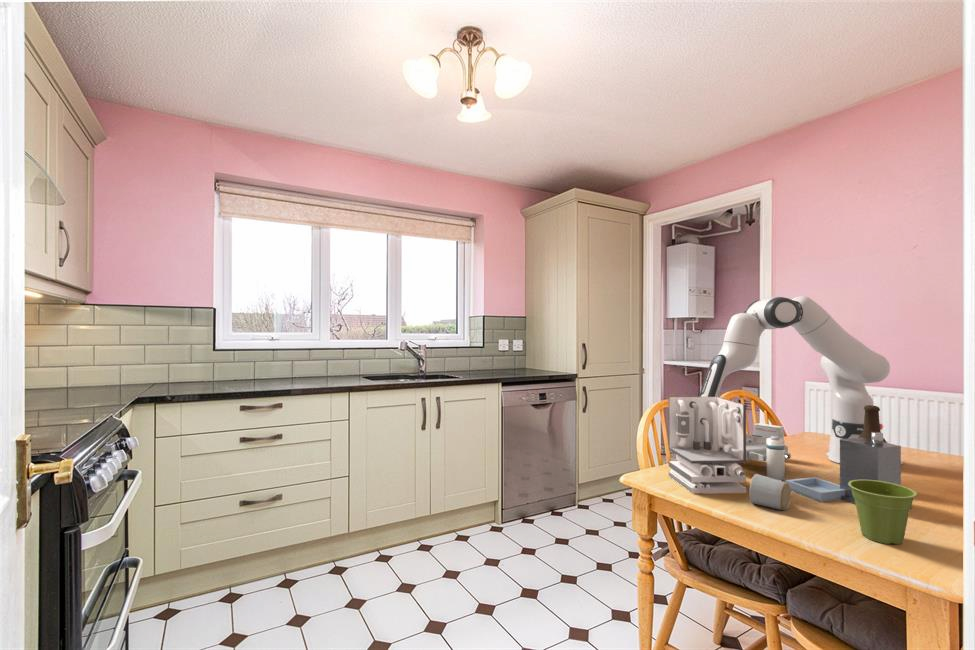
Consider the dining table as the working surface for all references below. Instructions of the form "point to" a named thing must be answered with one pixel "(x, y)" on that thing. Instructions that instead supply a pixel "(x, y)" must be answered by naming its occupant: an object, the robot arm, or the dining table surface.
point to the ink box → (768, 430)
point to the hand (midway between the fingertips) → (776, 457)
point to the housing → (868, 462)
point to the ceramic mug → (769, 492)
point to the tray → (816, 489)
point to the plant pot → (882, 509)
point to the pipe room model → (707, 444)
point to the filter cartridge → (775, 458)
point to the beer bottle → (871, 421)
